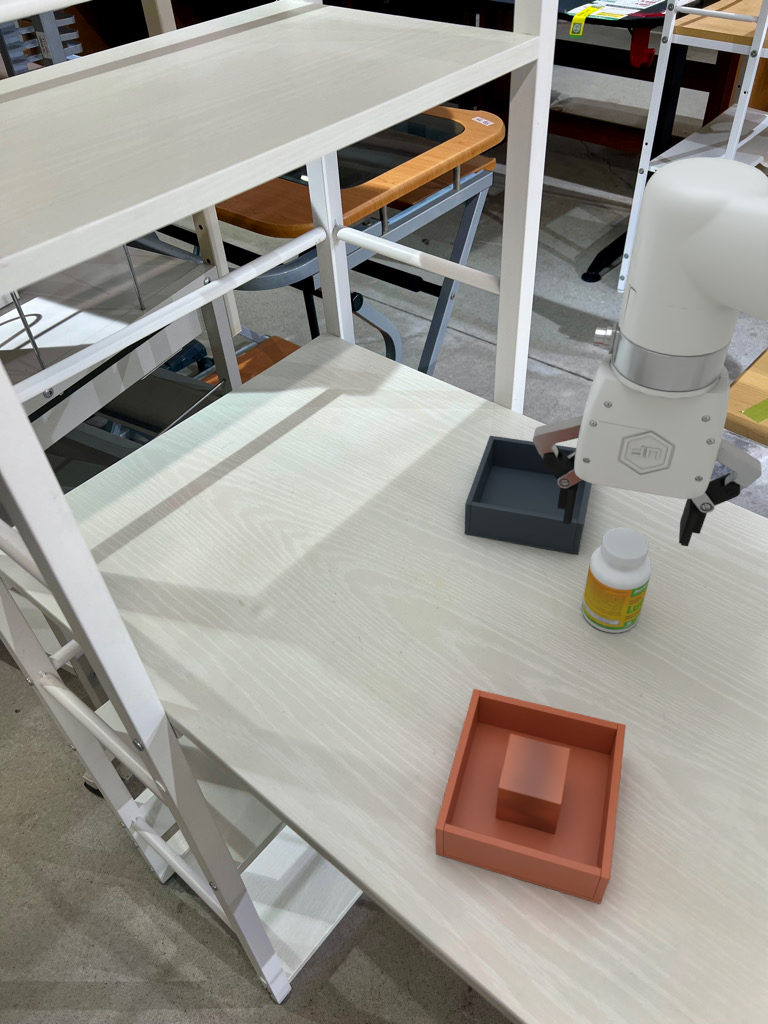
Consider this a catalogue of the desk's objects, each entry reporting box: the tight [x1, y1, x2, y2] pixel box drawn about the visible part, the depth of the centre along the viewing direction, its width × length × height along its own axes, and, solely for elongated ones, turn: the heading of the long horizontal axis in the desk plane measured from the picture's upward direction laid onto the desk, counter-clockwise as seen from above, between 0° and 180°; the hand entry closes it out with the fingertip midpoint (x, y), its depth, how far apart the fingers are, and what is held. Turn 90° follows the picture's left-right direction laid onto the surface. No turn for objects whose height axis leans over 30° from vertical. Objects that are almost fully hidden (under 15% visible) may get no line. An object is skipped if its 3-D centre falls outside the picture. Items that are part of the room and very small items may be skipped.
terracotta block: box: [495, 734, 570, 834], centre depth 57 cm, size 5×5×5 cm
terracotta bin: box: [434, 688, 627, 905], centre depth 58 cm, size 12×12×4 cm
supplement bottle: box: [581, 526, 653, 634], centre depth 69 cm, size 5×5×10 cm
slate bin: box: [464, 435, 593, 556], centre depth 82 cm, size 12×12×4 cm
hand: (625, 523), depth 64 cm, fingers open, 9 cm apart
